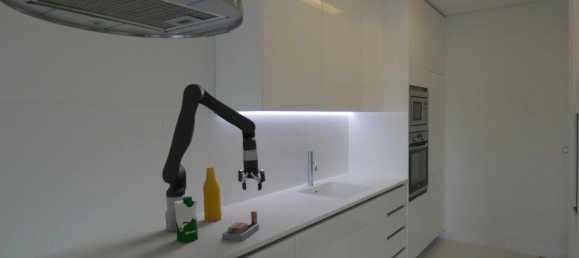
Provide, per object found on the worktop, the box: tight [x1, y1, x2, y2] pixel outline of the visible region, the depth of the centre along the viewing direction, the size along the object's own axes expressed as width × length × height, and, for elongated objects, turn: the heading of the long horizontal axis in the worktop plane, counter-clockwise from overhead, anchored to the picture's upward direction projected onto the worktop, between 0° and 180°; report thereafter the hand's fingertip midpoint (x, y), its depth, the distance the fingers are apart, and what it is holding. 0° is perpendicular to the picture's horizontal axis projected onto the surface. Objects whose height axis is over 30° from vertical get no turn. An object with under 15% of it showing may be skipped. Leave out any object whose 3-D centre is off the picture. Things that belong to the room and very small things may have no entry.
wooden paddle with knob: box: [227, 210, 258, 234], centre depth 175 cm, size 6×23×7 cm, turn 160°
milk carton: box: [174, 196, 199, 244], centre depth 165 cm, size 9×9×20 cm
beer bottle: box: [202, 166, 222, 223], centre depth 196 cm, size 9×9×29 cm
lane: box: [221, 223, 260, 241], centre depth 171 cm, size 10×17×2 cm, turn 159°
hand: (252, 190), depth 182 cm, fingers open, 8 cm apart
